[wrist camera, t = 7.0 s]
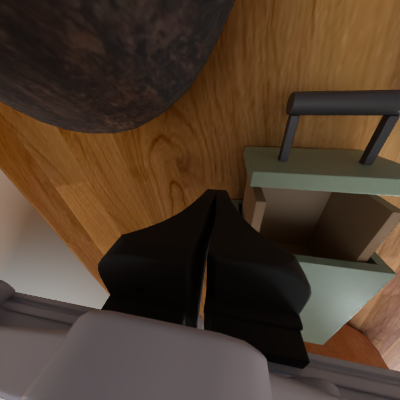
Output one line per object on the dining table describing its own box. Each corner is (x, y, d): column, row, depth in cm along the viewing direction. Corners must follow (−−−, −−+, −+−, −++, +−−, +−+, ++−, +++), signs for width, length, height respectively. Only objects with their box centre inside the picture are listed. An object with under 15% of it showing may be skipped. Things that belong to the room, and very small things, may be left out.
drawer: (251, 95, 15) (266, 88, 9) (389, 93, 13) (541, 83, 7) (232, 235, 25) (232, 283, 18) (312, 244, 23) (345, 301, 16)
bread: (247, 331, 42) (256, 447, 28) (326, 306, 31) (406, 477, 17) (294, 356, 45) (323, 473, 31) (380, 341, 34) (488, 512, 20)
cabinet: (232, 199, 22) (232, 253, 14) (331, 207, 20) (397, 274, 12) (224, 265, 30) (222, 325, 22) (296, 275, 28) (322, 345, 20)
